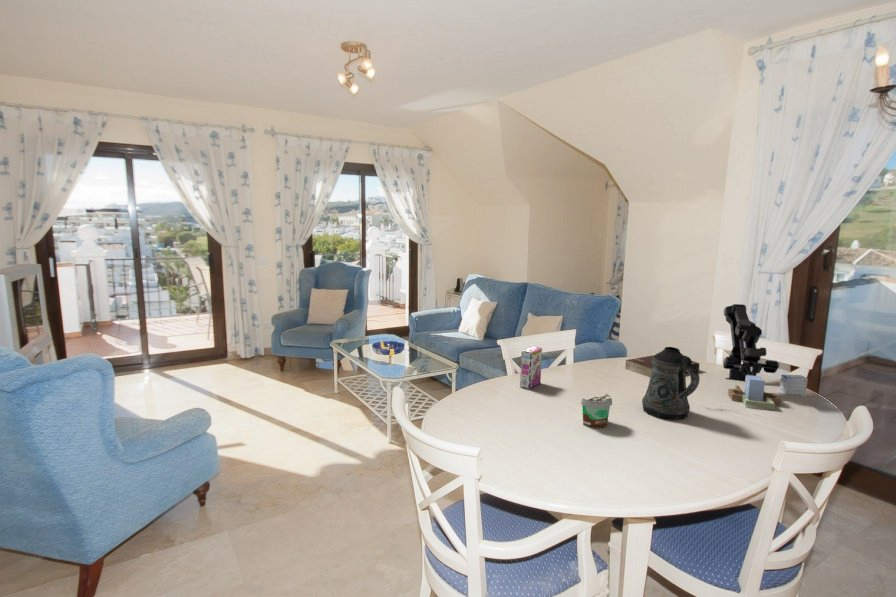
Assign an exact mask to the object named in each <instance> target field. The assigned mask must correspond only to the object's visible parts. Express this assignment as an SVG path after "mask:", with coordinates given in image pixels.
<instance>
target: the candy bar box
mask: <svg viewBox="0 0 896 597" xmlns="http://www.w3.org/2000/svg"><path fill="white" fill-rule="evenodd" d="M520 357H521V360H520V379H519V380H520V381H519V382H520V384H519V385H520V386H519V387H520V388H521V387H522V389H525V388H526V389H525V390H530V389H532V388H534V387H536V386H537V385H540V384H541V379H542V378H541V377H542V358H543V348H542V347H539V346H531V347H529V348H526V349H524V350H522V351H521V356H520Z"/></svg>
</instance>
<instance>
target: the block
mask: <svg viewBox="0 0 896 597" xmlns="http://www.w3.org/2000/svg"><path fill="white" fill-rule="evenodd" d="M765 383H766V381H765V379H764V378H763V377H762V376H758V375H756V376H751V375H746V378H745V385H744V386H745V387H744V392H745V394H744V395H746V397H747V398H748V399H749V400H752V401H761V402H763V401H764V399H763V394H764V392H765Z"/></svg>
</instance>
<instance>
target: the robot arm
mask: <svg viewBox="0 0 896 597" xmlns="http://www.w3.org/2000/svg"><path fill="white" fill-rule="evenodd" d="M723 316H725V321H726V322H727V323H728V324H729V326H730V332H731V343H732V349H731V351H730V353H729V355H728V356H725V358H724V360H723V365H722V366H723V369H725V370H729V373H728V375H729V376H728V377H725V380H729V381H739V382H741V381H742V382H746V375H751V376H757V374H760V373H761V371H762V370H763V371H764V372H765V373H766V374H775V373H776V372H777V371H778V369H779V367H780V364H779V362H778V361H777V360H769V359H766V360H765V362H760V361H761V358H762V357H766V356H767V348H766V347H759V348H757V343H758V342H759V340H760V338H761V336H762V333H763V330H762V329H761V328H760V327H758V326H757V325H756V323H754V322H752V321H751V320H750V317H749V315H748V313H747V307H746V305H745V304H744V303H743V304H742V303H741V304H738V303H737V304H736V303H733V304H732V305H729V306H727V305H726V307H725V308H724V309H723ZM751 368H752V369H751Z"/></svg>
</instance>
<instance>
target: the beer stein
mask: <svg viewBox="0 0 896 597" xmlns="http://www.w3.org/2000/svg"><path fill="white" fill-rule="evenodd" d="M652 356H653V355H652ZM692 361H693V360H692V359H691V357H689V356H687V355H685V354H682V353H681V351H680V349H679V348H678V347H673V346H666V347H664V348H663V350H661V351H659V352H658V353H655V354H654V356H653V357H652V363H653V369H652V373H651V377H649V382H648V386H647V389H646V392H645V395H644V396H643V398H642V401H641V404H642V409H643V412H644V413H645V414H647V415H649V416H651V417H654V418H657V419H662V420H665V421H667V420H668V421H679V420H681V421H682V420H685V419H687V418H688V416H689V413H690V409H691V408H690V407H691V406H690V403H689V399H688V397H689V396H690V395H692V394H693V393H694V392H695V390H697V388H698V387H699V384H700V381H701V380H700V379H701V378H700V374H699V371H698V370H697V369H696V368H695V367H694V366H692V365H691V364H692ZM685 372H687V373H688V375H689V377H690V383H689V384H688V386H687V382H686V381H687V379H686V374H685Z"/></svg>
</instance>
